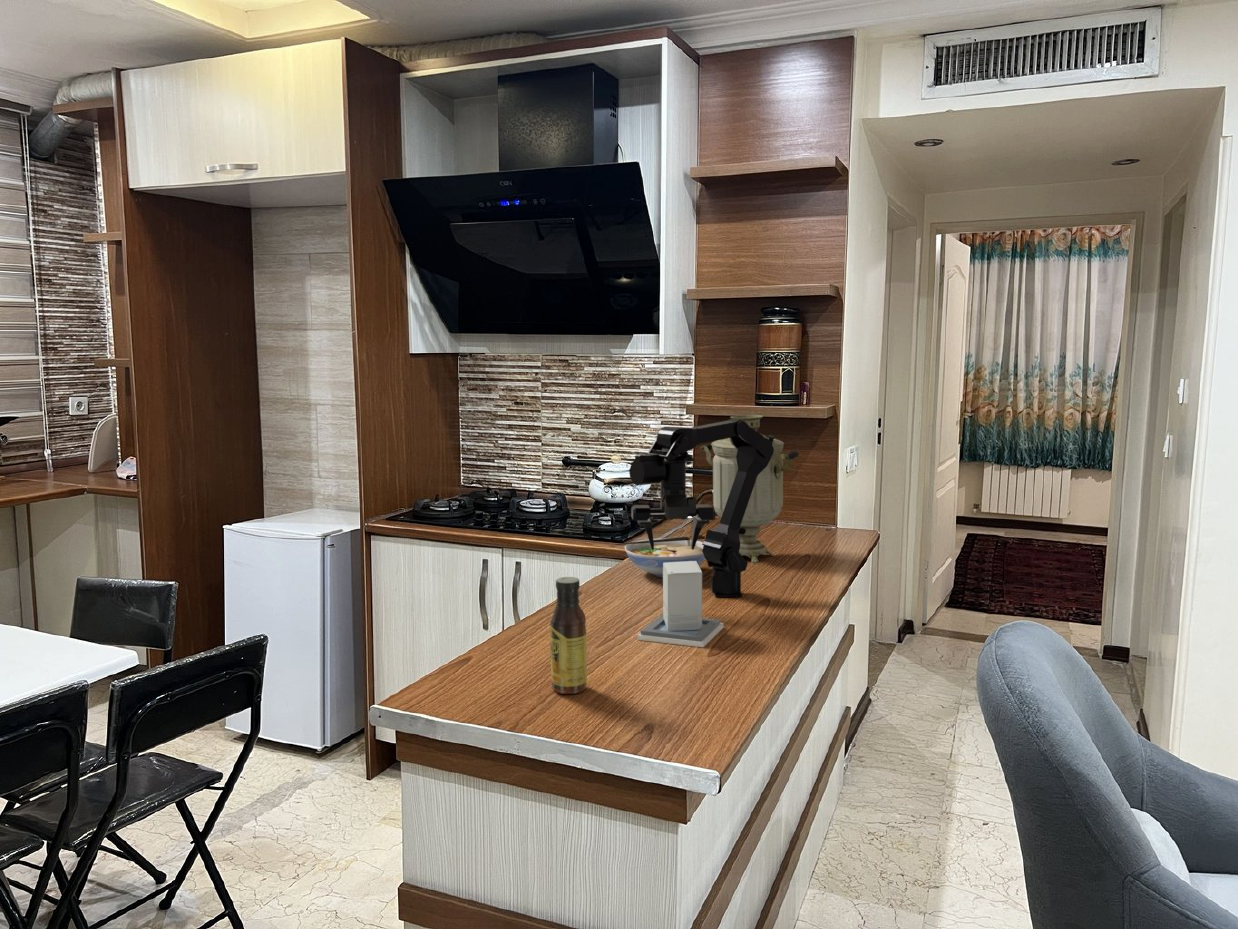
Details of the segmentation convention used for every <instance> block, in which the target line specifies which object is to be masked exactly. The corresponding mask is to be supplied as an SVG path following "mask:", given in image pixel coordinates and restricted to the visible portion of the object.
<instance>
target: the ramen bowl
mask: <svg viewBox="0 0 1238 929" xmlns="http://www.w3.org/2000/svg"><path fill="white" fill-rule="evenodd" d="M705 537H706V536H704V535H702V534H699V536H698V539H697V542H696V545H695V547H694V550H692V549H691V539H692V535H691V536H690V535H688V536H680V537H671V538H670V537H669V538H653V541H654V550H652V549H651V546H650V542H649V539H642V540H636V541H632V542H631V541H630V542H623V543H622V542H621V543H614V545H615V546H620V545H621V546H622V545H623V546H624V545H625V546H624V549H625V552H626V554H627V556H628V558H629V560H630V561H631V563H633V564H634V566H635V567H636V568H638V569H640V570H641V571H643V572H647V573H649V574H652V575H653V576H655V577H658V578H663V563H666V562H683V561H697V563H698V565H699V566H700V565H701V564H702V563H703V562H704V561H705V560H706V558H705V557H704V554H703V546H704V545H702V543H703V542H704V541H701V540H705Z"/></svg>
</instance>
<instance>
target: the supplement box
mask: <svg viewBox="0 0 1238 929" xmlns="http://www.w3.org/2000/svg"><path fill="white" fill-rule="evenodd" d="M662 586H663V587H662V592H663V593H662V595H663V596H662V599H663V600H662V605H663V606H662V607H663V610H662V612H663V613H662V614H663V618H664V621H665V624H666V627H667V630H668V631H682V630H700V629H702V618H703V572H702V569H701V567H700V565H698V563H697V561H683V562H666V563H663V577H662Z"/></svg>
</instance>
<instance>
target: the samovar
mask: <svg viewBox="0 0 1238 929" xmlns="http://www.w3.org/2000/svg"><path fill="white" fill-rule="evenodd" d="M762 418H764V415H760V414H741V415H732V416H730V419H735V420H743V421H744V422H746V423H747V424H748V425H749V426H750V427H751V428H752V429H754V430H755V431H757V432H758V430H759V428H760V426H761V425H760V424H761V423H760V422H761V421H760V420H761V419H762ZM759 433H760V434H761V435H763V436H764V437H765V438H767V439H769V440H770V441H771V443H772V445H773V447H774V452H773V455H772V458H771V460H770V462H769V464H768V466H767V467H766V468H765V469H764V470H763V471H762V472H761V473H760V474H759V475H758V476H757V479H756V482H755V485H754V488H753V491H752V494H751V496H750V499H749V502H748V505H747V508H746V511H745V514H744V517H743V520H742V523H741V526H740V529H739V537H740V543H741V545H740V550H739V553H740V554H741V555H742V556H746V557H748V558H749V559H751V561H750V563H754V564H758V563H760V561H759V558H758V557H759V556H760V555H764V554H768V555H771V557H773V556H774V554H773V553H772V552H771V551H769V550H768V549H767V547H766V545H764V544H762V542H761V541H760V540H759V539H758V540H757V538H756V537H757V536H758V535H760V532H761V531H760V530H761V529H760V527H762V526H764V525H767V524H769V523H771V522H772V521H774V519H776V518H778V516H779V514H781V511H782V509H783V506H784V471H788V470H789V469H790V467H791V466H792V465H793V459H795V458H798V457H799V456H800V455H799V451H796V450H794V451H789V452H788V453H786V454H785V453H782V451H783V449H784V441H782V440H780V439H776V436H775V435H773V434H769V435H767V437H766V435H764V434H762V433H761V432H759ZM699 449H700V450H701V451H702V452H705V459H706V461H707V463H708V464H709V465H710V466H712V502H713V504H712V507H713V508H714V509H715V514H716V515H717V516H718V517H720V518H721V517H722V514H723V511H724V508H725V506H726V503H727V500H728V497H729V494H730V491H731V488H732V485H733V482H734V479H735V477H736V474H737V471H738V466H737V460H736V455H737V449H736V448H735V447H734V446H733V445H732V443H731V441H730V438H727V439H722V440H717V441H712V442H711V443H706V444H705V445H701V446H700V447H699ZM712 450H713V453H714V454H715V455H714V456H713V458H712V453H711V452H710V451H712ZM784 460H785V461H786V464H784Z"/></svg>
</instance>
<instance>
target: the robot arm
mask: <svg viewBox="0 0 1238 929" xmlns="http://www.w3.org/2000/svg"><path fill="white" fill-rule="evenodd" d="M760 433H761V432H758V430H757V431H755V430H754V429H752V428H751V427H750V426H749V425H748V424H747V423H746V422H744V421H743V420H735V419H732V418H730V419H727V420H723V421H718V422H714V423H713V422H712V423H708V424H703V425H696V426H692V427H686V426H663V427H660V429H659V431H658V432H657V436H656V438H655V440H654V441H653V443H652V445H651V447H650V448H649V450H648V451H647V453H646V454H635V456H634V460H633V461H632V463H630V468H629V470H628V471H629V479H630V481H631V482H632V484H633V485H635V486H646V485H656V484H657V485H658V484H660V506H659V508H651V507H650V505H649V504H633V505H632V506H631V507H630V508H631V509H630V511H631V512H630V514H631V519H632V521H633V522H635V521H636V522H637V523H638V525H643V528H644V530H645V533H646V535H647V538H648V539H647V540H649V542H650V546H651V549H652V550H654V541H653V539H654V534H653V533H654V531H653V523H652V520H651V518H652V517H656V518H657V517H658V518H659V517H665V518H666V519H667V520H669V521H672V520H677V519H679V520H687V519H688V517H692V518H693V519H692V527H691V528H692V529H691V536H692V539H691V549H692V550H694V547H695V545H696V542H697V541H698V540H699V539H698V536H699V535H700V533H701V531H702V529H703V528H704V526H705V525H707V524H710V521H714V520H716V511H715V509H714V506H713V505H711V504H708V503H707V504H705V503H704V504H703V503H702V504H697V497H696V496H687V495H686V493H687V491H686V488H687V487H686V485H687V484H686V483H687V482H686V481H687V480H686V478H687V477H686V476H687V474H686V473H687V470H686V469H687V463H691V462H694V460H695V459H694V458H693V457H692V456H691V455H690V454H689V451H691V450H693V449H695V448H696V447H697V446H699V445H701V444H705V443H706V444H708V443H712V442H715V441H717V440H722V439H727V438H730V441H731V443H732V445H733V446H734V447H735V448H736V449H737V455H736V460H737V466H738V471H737V474H736V477H735V479H734V482H733V485H732V488H731V491H730V494H729V497H728V500H727V503H726V506H725V508H724V511H723V514H722V517H720V520H719V523H718V525H717V526H716V527H715V528H713V529H711V528H708V529H707V531H706V534H705V536H704V537H705V539H703V541H702V542H703V543H702V545H704V546H703V554H704V557H705V560H706V563H707V567H708V568H712V573H711V574H710V591H711V593H712V594H713V595H714V597H715V598H729V597H730V598H735V597H739V598H740V597H743V593H742V591H741V590H742V589H741V588H742V584H741V583H742V577H741V576H742V572H745V571H746V570H747V566H748V560H746V559H745V558H744V557H743V555H741V554H740V553H739V550H740V545H741V543H740V537H739V529H740V526H741V523H742V520H743V517H744V514H745V511H746V508H747V505H748V502H749V499H750V496H751V494H752V491H753V488H754V485H755V482H756V479H757V476H758V475H759V474H760V473H761V472H762V471H763V470H764V469H765V468H766V467H767V466H768V464H769V462H770V460H771V458H772V455H773V452H774V447H773V445H772V443H771V441H770V440H769V439H767V438H768V437H766V436H765V435H764V434H762V433H761V434H762V435H761V434H760ZM763 435H764V436H765V437H766V438H765V437H764V436H763Z"/></svg>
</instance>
